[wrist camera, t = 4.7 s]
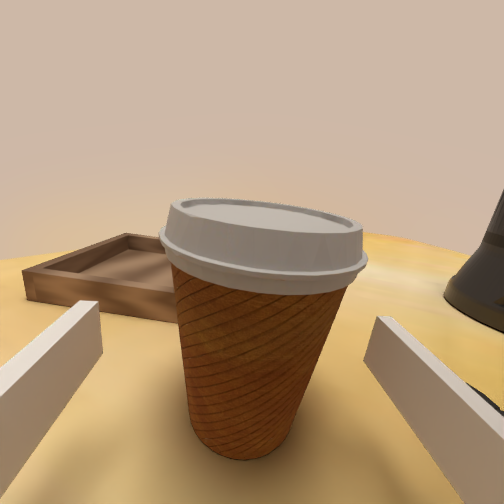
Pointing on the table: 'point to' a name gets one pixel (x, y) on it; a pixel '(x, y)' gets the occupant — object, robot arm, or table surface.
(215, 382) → the disposable coffee cup
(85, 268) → the walnut tray
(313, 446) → the table surface
